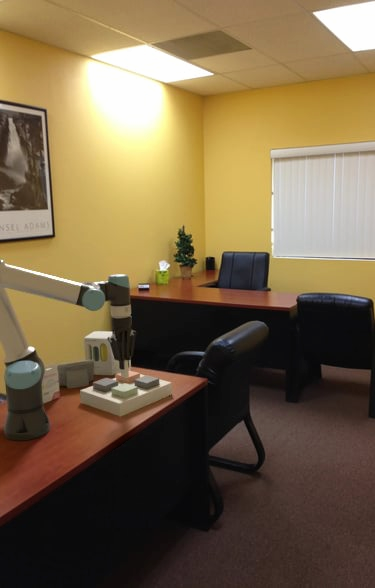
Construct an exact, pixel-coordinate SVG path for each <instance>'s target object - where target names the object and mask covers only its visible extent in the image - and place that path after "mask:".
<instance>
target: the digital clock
mask: <svg viewBox="0 0 375 588" xmlns="http://www.w3.org/2000/svg"><path fill="white" fill-rule="evenodd" d="M57 370H58V380H59V387H64V386H65V387H66V388H67V389H68V390H69V389H70V390H71V389H75V388H76V389H77V388H82V387H87V386H89V387H90V385H89V382H93V380H94V378H95V377H94V376H95V375H94V360H85V359H84V360H78V361H72V362H65V363H60V364H58V365H57Z"/></svg>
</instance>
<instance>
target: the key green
mask: <svg viewBox="0 0 375 588" xmlns="http://www.w3.org/2000/svg"><path fill="white" fill-rule="evenodd" d="M111 389H112V395H114V396H117V397H120V398H123V399H125V398H128V397H130V396H133V395H135V394H138V387H137V386H133V385H130V384H126V383H124V384H121V385H119V386H116V387H113V388H111Z"/></svg>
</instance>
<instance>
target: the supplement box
mask: <svg viewBox="0 0 375 588" xmlns="http://www.w3.org/2000/svg"><path fill="white" fill-rule="evenodd" d="M112 332H113V331H108V330H107V331H102V330H100V331H98V330H97V331H95V330H94V331H93V332H91V333H89V334H87V335H86V336H84V337H83V343H84V358H85V359H84V360H94V376H95V375H96V376H115V372H114V365H113V352H112V349H111V345H110V342H109V341H108V339H107V338H108V337H111V336H112ZM115 339H116V338H115Z"/></svg>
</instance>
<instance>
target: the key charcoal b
mask: <svg viewBox="0 0 375 588" xmlns="http://www.w3.org/2000/svg"><path fill="white" fill-rule="evenodd" d="M159 379H160V378H159V377H155V376H152V375H148V374H146V375H145V376H143V377H140V378H138V379H135V380H134V383H135V386H137V387H139V388H143V389H146V390H148V389H150V388H153V387H155V386H158V385H159Z"/></svg>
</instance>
